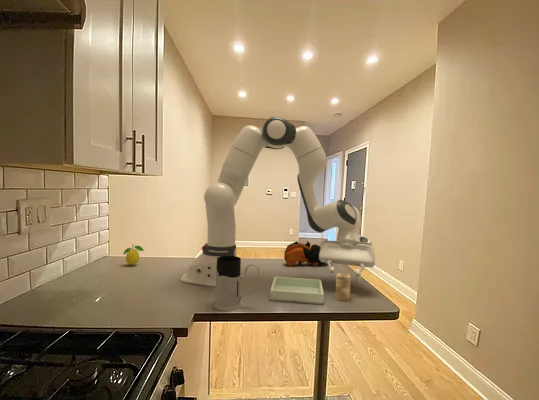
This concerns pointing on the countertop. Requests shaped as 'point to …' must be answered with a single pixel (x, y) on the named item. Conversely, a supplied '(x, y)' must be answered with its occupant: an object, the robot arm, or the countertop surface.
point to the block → (343, 286)
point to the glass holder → (229, 283)
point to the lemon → (132, 255)
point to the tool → (302, 254)
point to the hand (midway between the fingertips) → (344, 273)
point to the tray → (297, 290)
